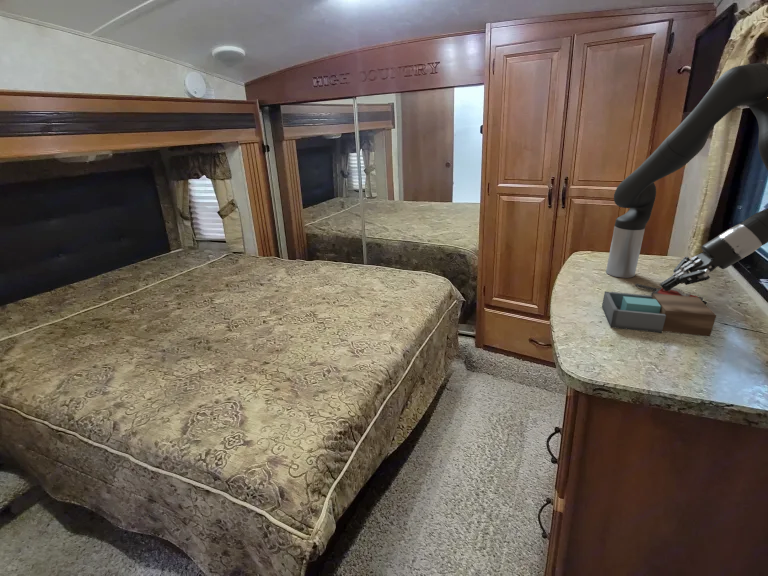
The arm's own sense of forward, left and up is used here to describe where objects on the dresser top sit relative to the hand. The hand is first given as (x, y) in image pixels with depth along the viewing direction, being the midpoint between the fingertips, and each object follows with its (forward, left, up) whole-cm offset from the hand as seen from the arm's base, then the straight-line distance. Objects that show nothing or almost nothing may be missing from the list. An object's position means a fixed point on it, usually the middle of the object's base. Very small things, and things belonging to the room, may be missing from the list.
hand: (662, 287), depth 110 cm
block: (0, 0, -7) cm, 7 cm away
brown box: (0, +5, -10) cm, 11 cm away
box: (0, -6, -10) cm, 12 cm away
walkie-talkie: (-19, +8, -11) cm, 23 cm away
